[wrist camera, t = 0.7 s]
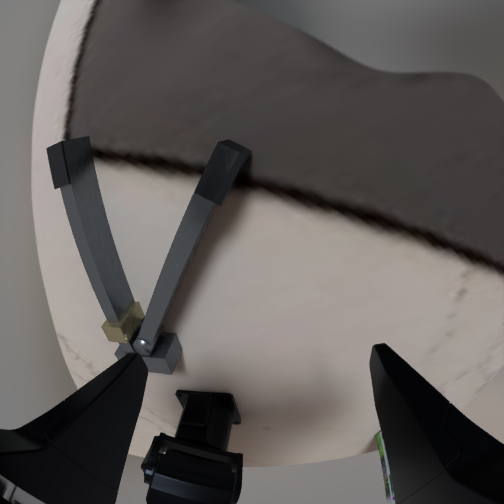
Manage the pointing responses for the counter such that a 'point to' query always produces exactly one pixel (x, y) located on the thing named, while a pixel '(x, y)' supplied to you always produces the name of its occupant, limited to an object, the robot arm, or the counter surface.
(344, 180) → the counter surface
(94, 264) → the tongs
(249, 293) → the counter surface
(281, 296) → the counter surface
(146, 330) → the tongs arm
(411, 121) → the counter surface
